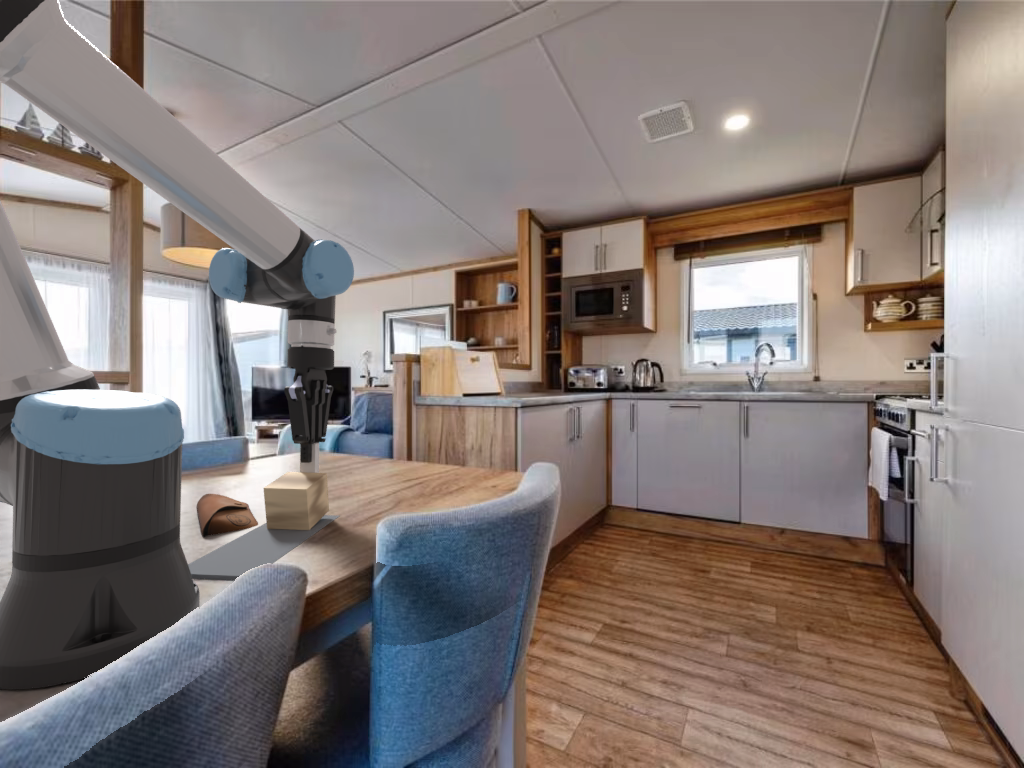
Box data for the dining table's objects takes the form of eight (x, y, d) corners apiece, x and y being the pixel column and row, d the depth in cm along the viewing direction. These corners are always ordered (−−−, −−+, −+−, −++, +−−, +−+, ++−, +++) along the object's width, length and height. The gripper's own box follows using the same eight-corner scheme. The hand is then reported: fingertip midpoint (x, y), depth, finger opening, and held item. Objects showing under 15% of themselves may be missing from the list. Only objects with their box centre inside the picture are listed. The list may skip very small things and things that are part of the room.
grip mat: (253, 581, 53) (253, 576, 53) (170, 578, 54) (170, 573, 54) (340, 518, 78) (340, 515, 78) (283, 517, 78) (283, 513, 78)
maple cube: (309, 530, 70) (306, 489, 69) (267, 529, 70) (263, 487, 69) (329, 511, 77) (326, 473, 76) (290, 509, 77) (287, 471, 76)
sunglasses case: (265, 529, 71) (242, 498, 69) (221, 560, 68) (195, 527, 65) (248, 504, 85) (228, 477, 83) (211, 528, 82) (189, 501, 79)
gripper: (314, 344, 70) (311, 489, 70) (347, 349, 83) (345, 472, 83) (268, 343, 70) (266, 488, 70) (309, 349, 83) (307, 471, 83)
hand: (309, 479), depth 77 cm, fingers closed
